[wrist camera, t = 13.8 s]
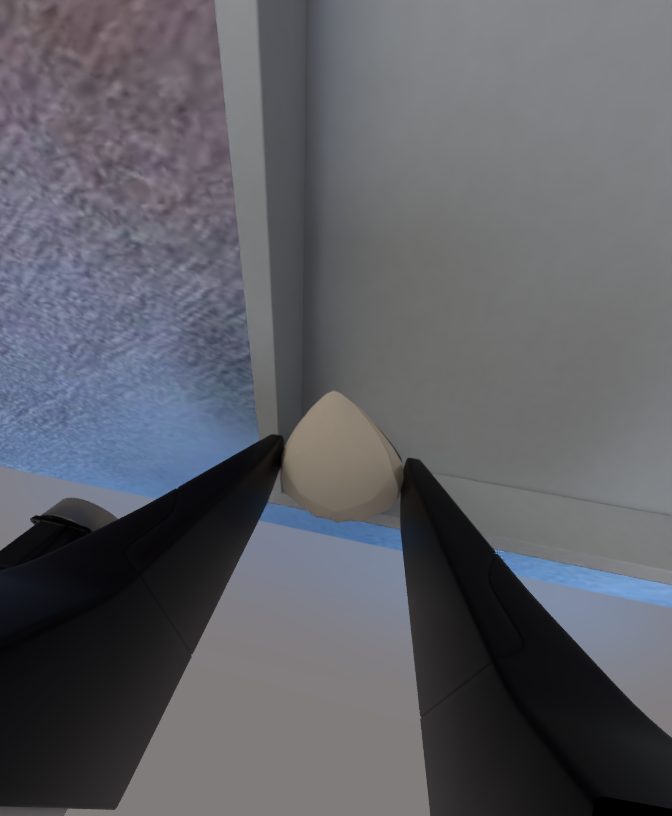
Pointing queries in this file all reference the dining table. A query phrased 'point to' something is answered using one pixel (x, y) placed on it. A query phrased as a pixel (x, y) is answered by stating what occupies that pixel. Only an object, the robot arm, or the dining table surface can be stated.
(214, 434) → the dining table surface
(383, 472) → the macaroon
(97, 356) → the dining table surface
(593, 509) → the tray
